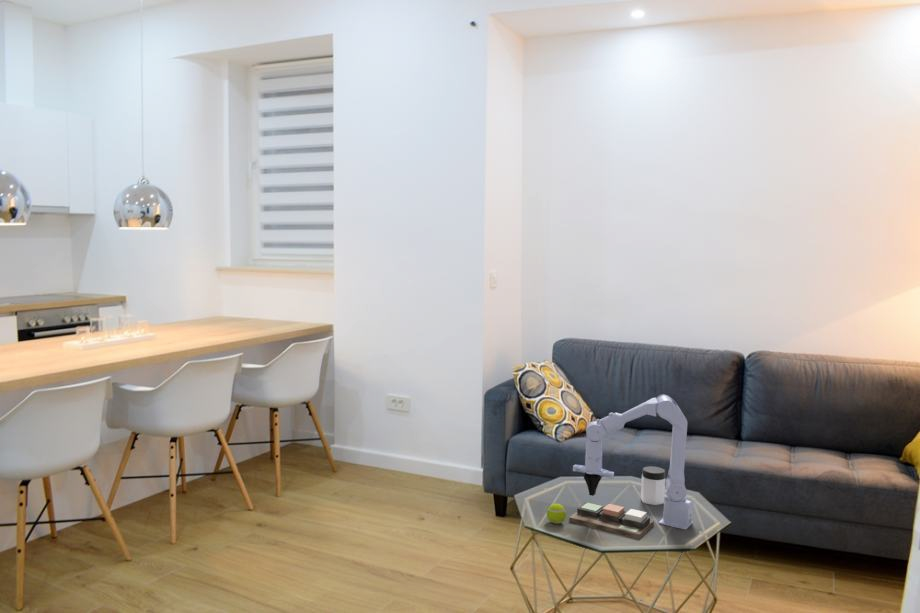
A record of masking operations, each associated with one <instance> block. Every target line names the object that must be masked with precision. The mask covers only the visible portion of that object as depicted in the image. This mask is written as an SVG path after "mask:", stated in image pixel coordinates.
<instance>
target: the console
mask: <svg viewBox="0 0 920 613" xmlns="http://www.w3.org/2000/svg"><path fill="white" fill-rule="evenodd" d="M586 503H589V502H587V501H585V502H584V503H582V504H581V505H580V506H579V507H577V510H576V511H575V512H574V513H573V514H572V515H570V516H569V517H568V522H571V523H574V524H578V525H582V526H587V527H590V528H594V529H597V530H603V531H606V532H609V533H613V534H619V535H621V536H626V535H627V536H626V537H630V538H635V539H639V540H640V539H641V538H642V537H644V535H645V534H647V533H648V532H649V530H650V529H651V528H652V527H654V525H655V521H654V520H652V519H651V517H650V516H649V515H647V518H646V519H645V520H644V521H643V522H642V523H640V522H635V521H631V520H627V519H625V513H627V512H628V510H627V511H626V510H624V513H623V514H622V515H621V516H620V517H614V516H610V515H606V514H603V508H604V507H605V506H606V505H605V506H604V505H601V504H599V505H600V506H602V508H601V509H600V510H599V511H597V512H593V511H589V510H585V509H581V507H582V506H584V505H585V504H586ZM590 503H591V502H590ZM591 504H593V503H591Z"/></svg>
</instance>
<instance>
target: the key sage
mask: <svg viewBox="0 0 920 613" xmlns="http://www.w3.org/2000/svg"><path fill="white" fill-rule="evenodd" d="M585 503H586V502H585ZM600 505H601V504H596V503H592V504H591V502H588V503H586V504H585V505H584V506H582V507H581V509H585V510H589V511H593V512H597V511H599V510H600V509H601V508H602V506H603V505H601V506H600Z"/></svg>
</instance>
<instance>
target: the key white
mask: <svg viewBox="0 0 920 613" xmlns="http://www.w3.org/2000/svg"><path fill="white" fill-rule="evenodd" d="M647 514H648V513H647V511H643V510H639V509H635V508H630V509H629V510H627V513H625V519H627V520H631V521H635V522H640V523H642V522H643V521H644V520H645V519H646V518H647V516H648V515H647Z"/></svg>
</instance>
